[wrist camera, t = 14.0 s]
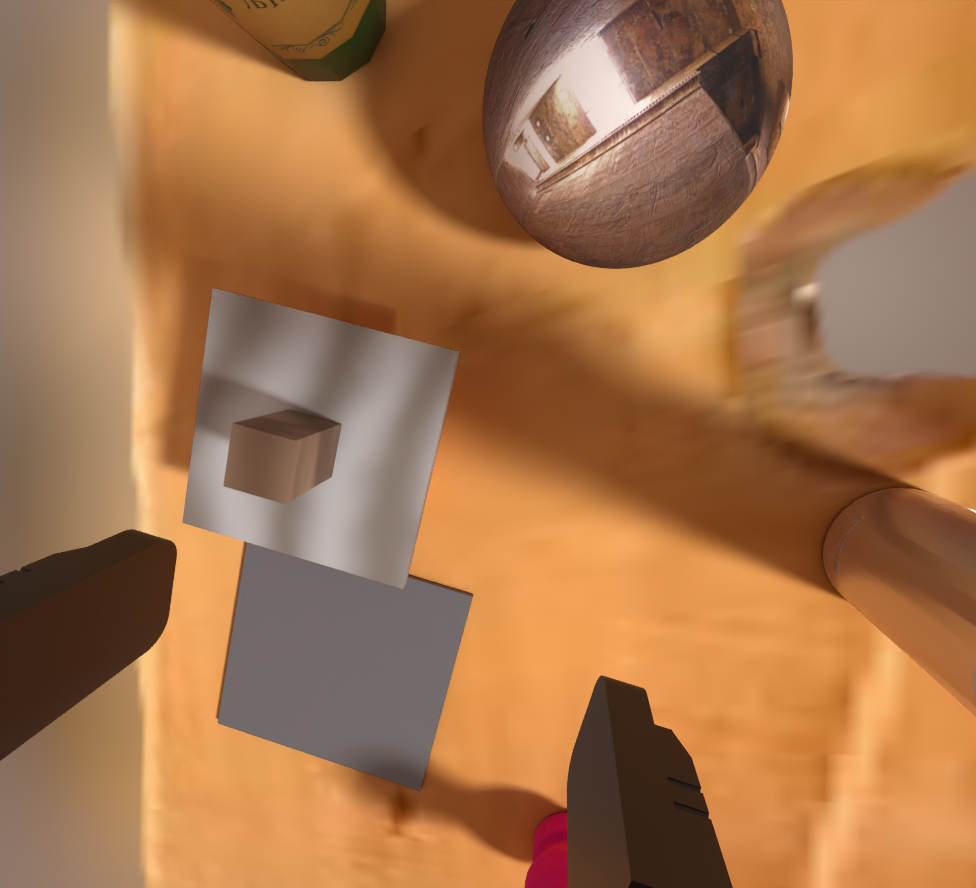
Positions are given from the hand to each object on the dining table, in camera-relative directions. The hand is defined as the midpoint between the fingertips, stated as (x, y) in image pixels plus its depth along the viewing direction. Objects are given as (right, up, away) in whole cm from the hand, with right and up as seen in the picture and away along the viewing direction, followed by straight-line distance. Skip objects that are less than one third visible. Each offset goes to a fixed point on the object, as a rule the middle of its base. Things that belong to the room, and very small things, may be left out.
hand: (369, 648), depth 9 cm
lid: (-9, +4, +25) cm, 27 cm away
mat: (-10, -15, +35) cm, 40 cm away
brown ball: (+10, +22, +25) cm, 35 cm away
